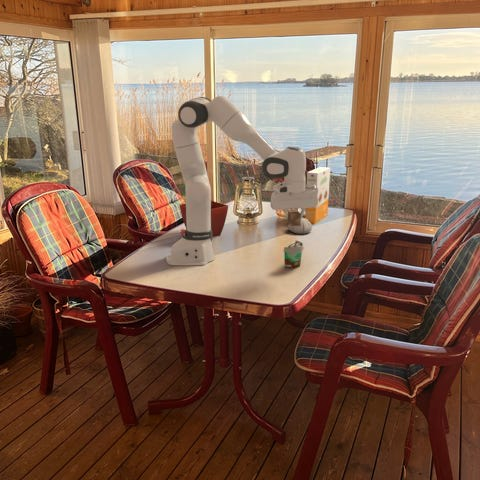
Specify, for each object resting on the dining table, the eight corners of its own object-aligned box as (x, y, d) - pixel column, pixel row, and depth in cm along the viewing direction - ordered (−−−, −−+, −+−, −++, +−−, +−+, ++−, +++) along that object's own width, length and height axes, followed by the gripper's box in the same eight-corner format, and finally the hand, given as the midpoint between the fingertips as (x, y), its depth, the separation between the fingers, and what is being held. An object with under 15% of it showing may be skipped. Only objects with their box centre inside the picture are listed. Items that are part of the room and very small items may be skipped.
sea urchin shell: (305, 227, 272) (306, 214, 270) (316, 234, 260) (317, 219, 257) (284, 229, 268) (284, 215, 266) (294, 236, 256) (294, 221, 253)
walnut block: (291, 226, 199) (291, 214, 197) (287, 220, 206) (287, 209, 205) (300, 225, 199) (300, 214, 198) (296, 220, 207) (296, 209, 205)
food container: (295, 271, 206) (296, 249, 203) (283, 268, 209) (283, 247, 206) (307, 263, 216) (308, 242, 213) (295, 260, 219) (296, 240, 216)
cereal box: (317, 214, 300) (320, 167, 291) (327, 215, 297) (330, 167, 288) (304, 222, 281) (307, 172, 272) (314, 224, 278) (317, 173, 269)
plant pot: (200, 243, 243) (200, 211, 238) (179, 234, 257) (178, 204, 252) (229, 236, 255) (229, 205, 250) (207, 228, 269) (207, 199, 264)
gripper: (315, 183, 203) (314, 215, 207) (269, 186, 199) (269, 218, 203) (321, 186, 197) (319, 218, 201) (273, 189, 193) (273, 221, 197)
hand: (294, 218), depth 202 cm, fingers closed on walnut block, 4 cm apart
